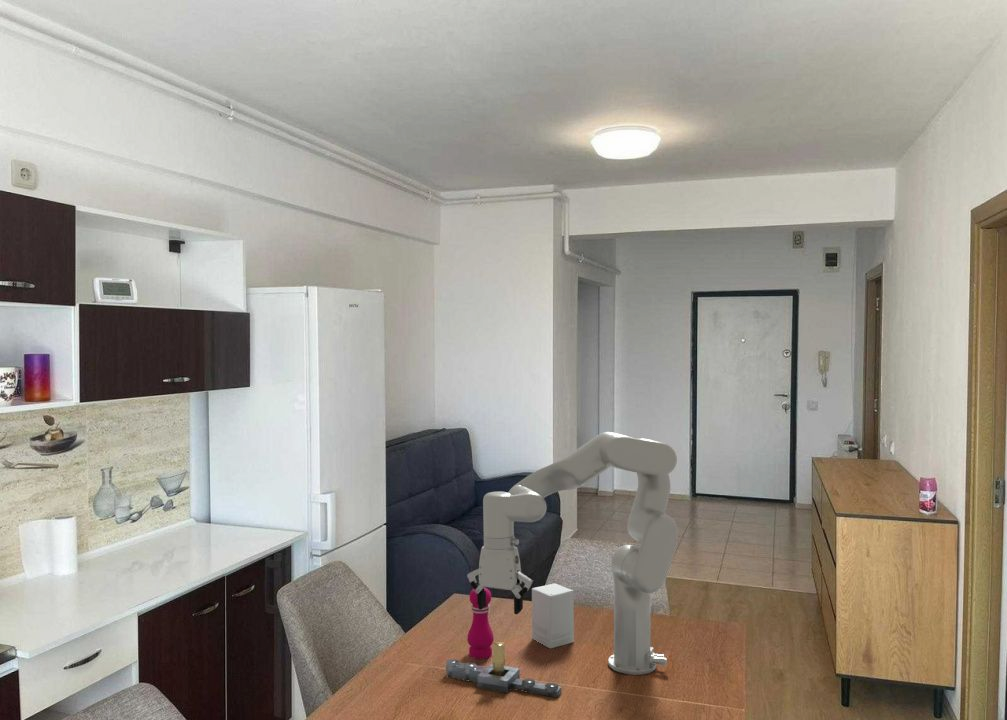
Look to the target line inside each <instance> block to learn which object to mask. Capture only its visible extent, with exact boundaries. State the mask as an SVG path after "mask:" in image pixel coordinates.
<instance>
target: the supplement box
mask: <svg viewBox="0 0 1007 720" xmlns="http://www.w3.org/2000/svg"><path fill="white" fill-rule="evenodd" d="M531 639H534V640H536V641H537V642H536V641H535V642H536V643H538V642H539V644H540V643H541V644H540V645H542V644H543V646H544V647H546V648H549V649H554V648H557V647H560V646H564V645H568V644H572V643H574V641H575V591H574V590H573V589H570V588H568V587H565V586H563V585H560V584H558V583H554V582H553V583H549V584H546V585H542V586H537V587H532V588H531ZM534 640H533V641H534Z"/></svg>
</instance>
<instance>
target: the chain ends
mask: <svg viewBox="0 0 1007 720" xmlns="http://www.w3.org/2000/svg"><path fill="white" fill-rule="evenodd" d="M445 673H446V674H445V677H446V676H448V677H454V678H459V679H458V680H460V679H464V680H463V681H465V680H469V681H468V682H470V681H473V682H472V683H476V682H478V683H477V689H482V688H484V689H483V690H487V689H488V690H489V691H492V690H494V691H493V692H497V691H499V693H503V692H505V693H504V694H508V693H510V691H511V690H513V689H517V690H516V691H518V690H523V691H527V692H526V693H529V692H532V693H531V694H534V693H536V694H535V695H539V694H542V695H541V696H545V695H547V696H546V697H549V696H550V697H551V698H555V699H557V698H559V697H560V695H561V694H562V686H561V685H558V684H557V683H555V682H547V683H545V682H544V683H543V682H539V681H536V680H535V679H532V678H524V679H523V678H522V679H521V677H520V673H521V671H520V668H518V667H512V666H507V665H505V676H504V677H502V676H496V675H493V663H489V665H488V666H482V665H477V664H476V663H475V662H460V661H459V660H458V659H455V658H453V659H452V658H451V659H447V660H446V662H445ZM448 677H447V678H448ZM454 678H453V679H454ZM510 689H511V690H510ZM488 690H487V691H488ZM509 690H510V691H509ZM523 691H522V692H523Z"/></svg>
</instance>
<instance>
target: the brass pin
mask: <svg viewBox="0 0 1007 720" xmlns="http://www.w3.org/2000/svg"><path fill="white" fill-rule="evenodd" d="M505 644H506V643H505V642H501V641H496V642H493V643H492V664H493V675H496V676H502V677H504V676H505V666H506V664H505V663H506V662H505V661H506V660H505V659H506V654H505V652H506V651H505V650H506V645H505Z"/></svg>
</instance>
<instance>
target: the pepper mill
mask: <svg viewBox="0 0 1007 720" xmlns="http://www.w3.org/2000/svg"><path fill="white" fill-rule="evenodd" d="M484 590H485V591H486V606H485V607H484V608H483V609H481V610H480V609H479V605H478V604H477V593H476V592H475V589H474V588H472V589H471V591H470V593H469V602H470V603H471V610H470V611H471V612H472V622H471V624H470V625H471V626H470V628H469V630H468V633H467V637H466V641H467V643H468V645H469V646H470V647H469V648H468V654H469V657H471V658H472V659H476V658H477V659H476V660H481V659H480V658H485V659H487V658H490V657H492V656H493V646H492V645H493V643H494V640H495V639H494V631H493V630H492V627H491V625H490V622H489V617H488V616H489V612H490V603H491V601H492V593H491V591H490V590H489V588H488V587H485V588H484Z"/></svg>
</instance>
